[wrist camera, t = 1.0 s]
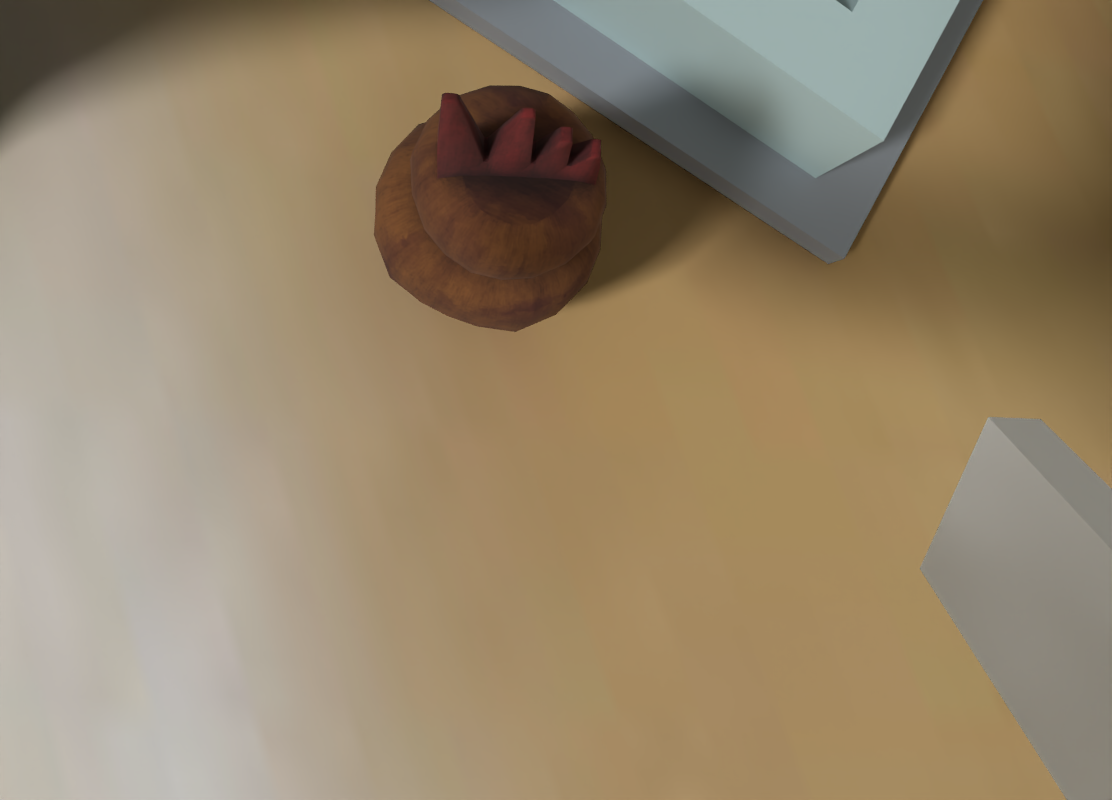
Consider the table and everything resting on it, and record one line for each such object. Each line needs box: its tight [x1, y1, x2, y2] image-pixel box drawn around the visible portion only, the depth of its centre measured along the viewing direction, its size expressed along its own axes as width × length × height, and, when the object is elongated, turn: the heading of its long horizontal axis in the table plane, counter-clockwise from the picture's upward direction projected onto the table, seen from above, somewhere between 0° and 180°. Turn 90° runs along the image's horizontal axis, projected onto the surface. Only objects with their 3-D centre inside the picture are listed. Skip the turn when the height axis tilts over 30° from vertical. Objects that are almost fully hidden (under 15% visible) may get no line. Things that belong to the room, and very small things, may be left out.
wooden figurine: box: [374, 86, 606, 332], centre depth 23 cm, size 7×6×15 cm
